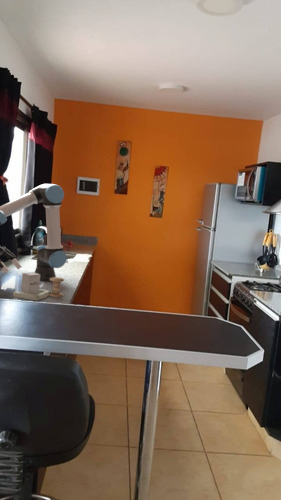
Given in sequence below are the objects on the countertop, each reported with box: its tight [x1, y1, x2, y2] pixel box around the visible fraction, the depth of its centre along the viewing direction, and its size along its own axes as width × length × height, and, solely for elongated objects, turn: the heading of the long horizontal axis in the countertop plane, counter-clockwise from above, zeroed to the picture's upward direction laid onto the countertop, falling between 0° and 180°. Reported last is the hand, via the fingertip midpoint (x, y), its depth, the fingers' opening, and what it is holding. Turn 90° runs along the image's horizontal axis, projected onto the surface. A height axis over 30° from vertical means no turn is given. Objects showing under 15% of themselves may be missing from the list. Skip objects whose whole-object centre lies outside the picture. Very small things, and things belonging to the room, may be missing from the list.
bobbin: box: [48, 276, 65, 298], centre depth 237 cm, size 8×8×10 cm
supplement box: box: [20, 271, 41, 295], centre depth 233 cm, size 7×7×13 cm
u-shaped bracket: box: [12, 288, 52, 301], centre depth 233 cm, size 16×15×2 cm
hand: (13, 269), depth 237 cm, fingers open, 13 cm apart
